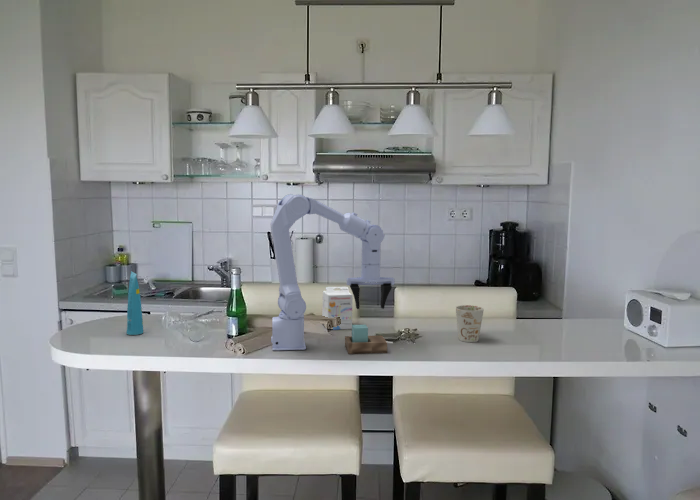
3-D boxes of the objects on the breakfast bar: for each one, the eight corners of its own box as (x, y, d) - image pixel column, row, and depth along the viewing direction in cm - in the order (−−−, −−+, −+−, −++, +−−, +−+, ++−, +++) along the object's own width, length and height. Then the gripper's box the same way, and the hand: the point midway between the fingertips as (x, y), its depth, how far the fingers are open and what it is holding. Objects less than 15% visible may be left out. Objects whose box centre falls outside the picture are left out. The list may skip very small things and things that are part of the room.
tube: (146, 334, 163) (145, 273, 161) (130, 337, 160) (128, 275, 158) (139, 329, 169) (137, 270, 167) (123, 332, 166) (121, 271, 164)
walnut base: (348, 354, 146) (348, 343, 146) (344, 346, 154) (344, 336, 154) (387, 352, 148) (387, 342, 148) (381, 345, 155) (381, 335, 155)
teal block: (353, 349, 149) (354, 328, 148) (351, 345, 152) (352, 324, 152) (367, 348, 149) (368, 328, 148) (365, 344, 153) (365, 324, 152)
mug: (451, 341, 161) (452, 309, 160) (462, 331, 172) (463, 301, 171) (478, 344, 157) (479, 312, 156) (488, 335, 168) (489, 304, 167)
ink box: (327, 330, 172) (327, 290, 170) (321, 324, 180) (322, 285, 178) (352, 329, 174) (353, 289, 172) (346, 322, 182) (346, 284, 181)
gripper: (349, 265, 154) (348, 311, 155) (397, 265, 156) (396, 310, 157) (345, 262, 161) (345, 306, 162) (392, 262, 163) (391, 305, 164)
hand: (370, 308), depth 160 cm, fingers open, 7 cm apart
